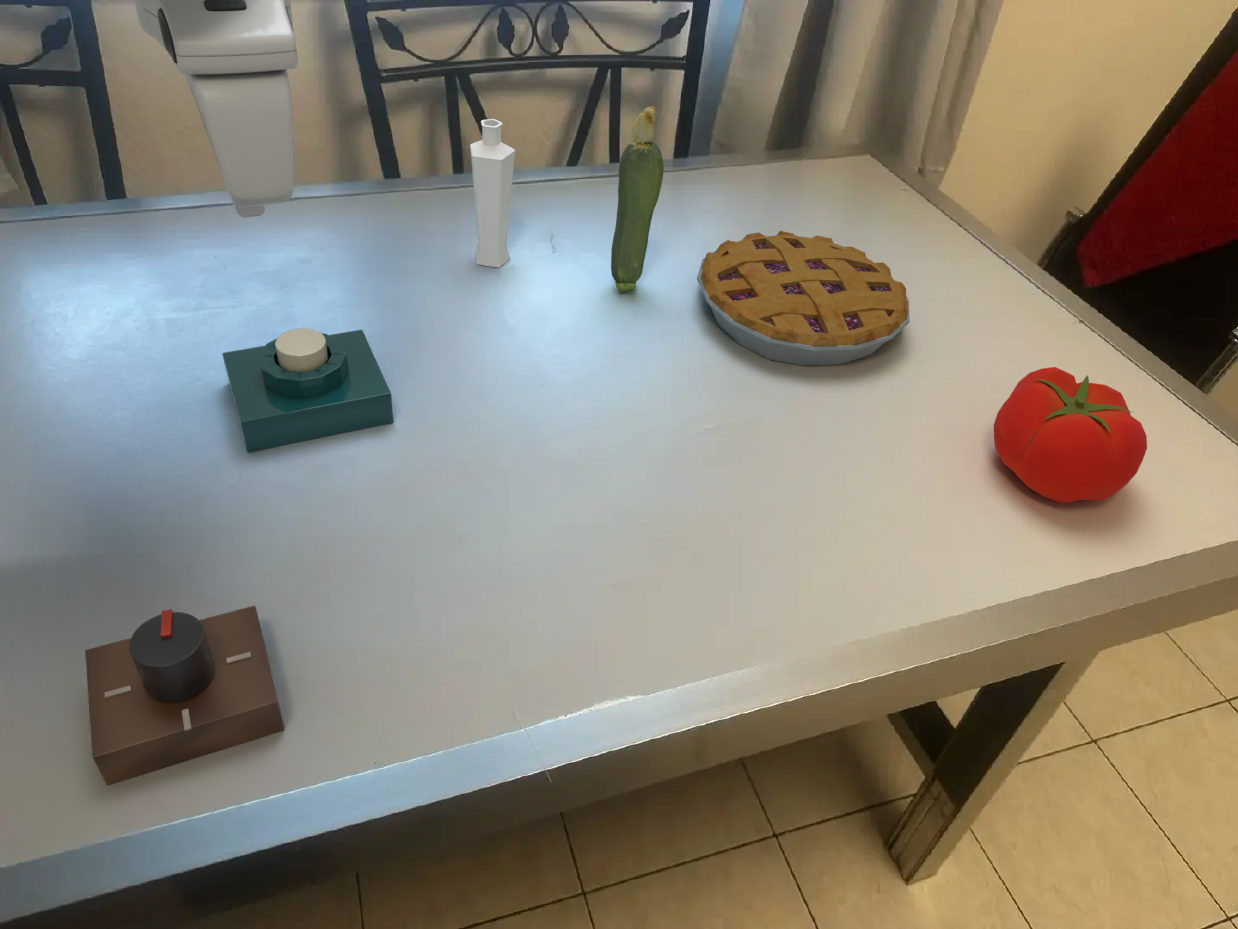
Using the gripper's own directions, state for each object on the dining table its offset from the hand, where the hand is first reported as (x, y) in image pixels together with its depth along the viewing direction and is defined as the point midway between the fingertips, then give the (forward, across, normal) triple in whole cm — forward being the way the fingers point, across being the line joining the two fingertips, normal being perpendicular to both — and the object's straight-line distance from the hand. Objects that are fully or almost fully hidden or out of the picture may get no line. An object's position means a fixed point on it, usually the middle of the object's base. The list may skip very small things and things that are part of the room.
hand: (248, 207), depth 67 cm
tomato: (+19, +28, +60) cm, 69 cm away
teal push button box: (+20, -3, +3) cm, 21 cm away
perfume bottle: (+20, -22, +26) cm, 39 cm away
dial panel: (+20, +25, -11) cm, 34 cm away
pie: (+20, -2, +53) cm, 56 cm away
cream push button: (+16, -3, +3) cm, 16 cm away
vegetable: (+20, -12, +38) cm, 44 cm away
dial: (+17, +25, -11) cm, 32 cm away
